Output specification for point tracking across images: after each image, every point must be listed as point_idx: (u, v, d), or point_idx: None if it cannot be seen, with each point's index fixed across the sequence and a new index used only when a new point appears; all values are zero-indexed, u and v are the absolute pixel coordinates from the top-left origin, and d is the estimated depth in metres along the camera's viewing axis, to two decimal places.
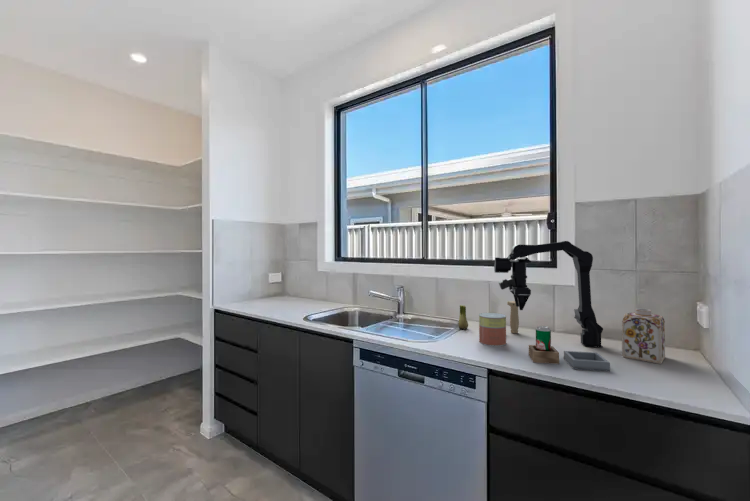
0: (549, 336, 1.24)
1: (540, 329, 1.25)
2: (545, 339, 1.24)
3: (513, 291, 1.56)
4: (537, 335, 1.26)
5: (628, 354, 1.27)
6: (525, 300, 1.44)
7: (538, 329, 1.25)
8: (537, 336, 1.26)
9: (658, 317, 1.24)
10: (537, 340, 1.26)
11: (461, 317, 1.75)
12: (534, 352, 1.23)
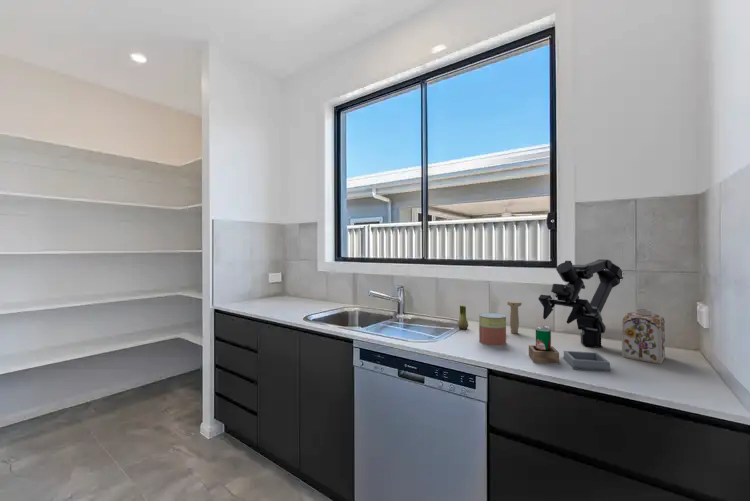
0: (549, 336, 1.24)
1: (540, 329, 1.25)
2: (545, 339, 1.24)
3: (548, 302, 1.37)
4: (537, 335, 1.26)
5: (628, 354, 1.27)
6: (577, 316, 1.27)
7: (538, 329, 1.25)
8: (537, 336, 1.26)
9: (658, 317, 1.24)
10: (537, 340, 1.26)
11: (461, 317, 1.75)
12: (534, 352, 1.23)
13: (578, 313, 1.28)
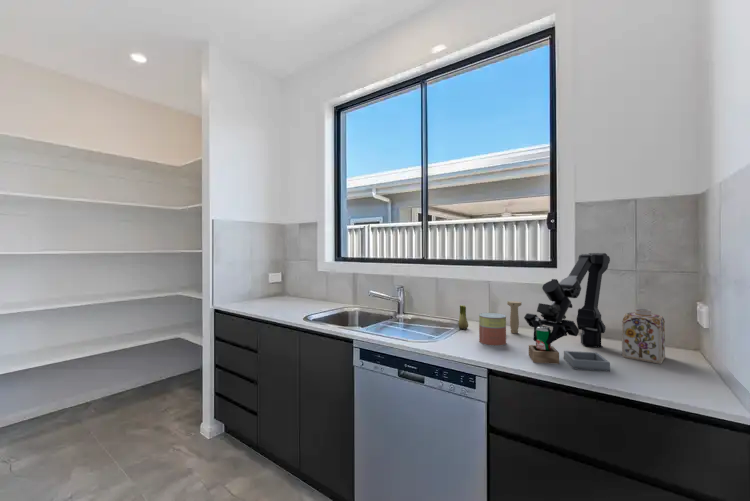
0: None
1: (540, 329, 1.25)
2: (545, 339, 1.24)
3: (538, 323, 1.30)
4: (537, 335, 1.26)
5: (628, 354, 1.27)
6: (558, 337, 1.24)
7: (538, 329, 1.25)
8: (537, 336, 1.26)
9: (658, 317, 1.24)
10: (537, 340, 1.26)
11: (461, 317, 1.75)
12: (534, 352, 1.23)
13: (558, 333, 1.25)
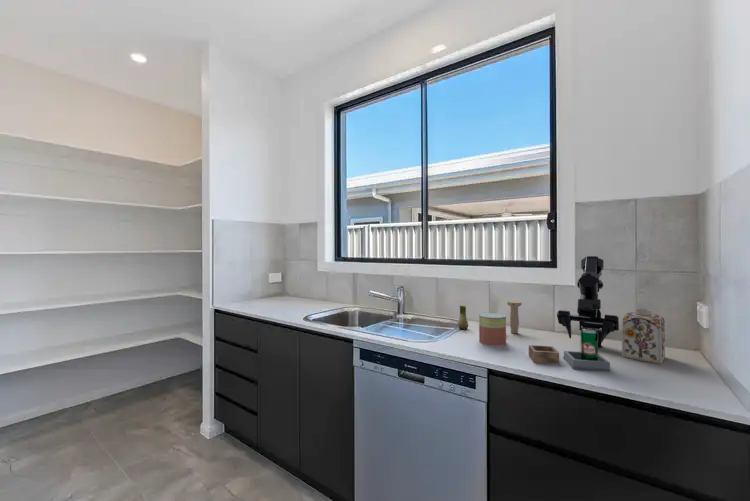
0: (597, 338, 1.18)
1: (589, 331, 1.18)
2: (595, 341, 1.17)
3: (569, 319, 1.25)
4: (585, 338, 1.18)
5: (628, 354, 1.27)
6: (606, 334, 1.19)
7: (587, 331, 1.18)
8: (585, 339, 1.18)
9: (658, 317, 1.24)
10: (586, 343, 1.18)
11: (461, 317, 1.75)
12: (534, 352, 1.23)
13: (606, 330, 1.19)
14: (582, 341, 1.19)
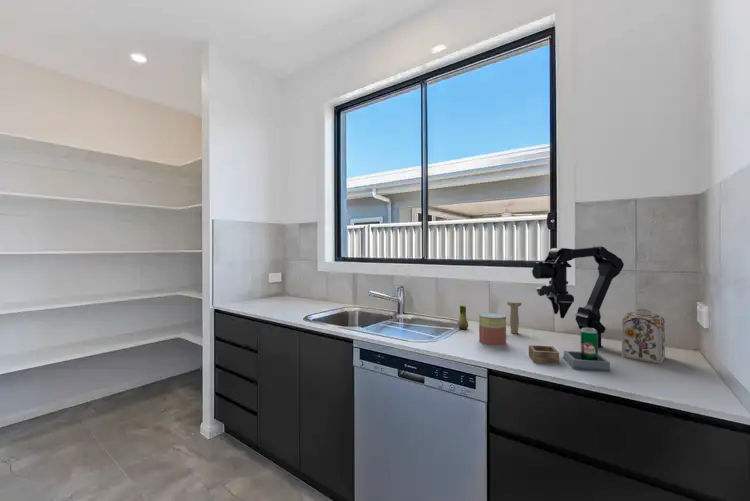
0: (597, 338, 1.18)
1: (589, 331, 1.18)
2: (595, 341, 1.17)
3: (551, 297, 1.47)
4: (585, 338, 1.18)
5: (628, 354, 1.27)
6: (567, 308, 1.35)
7: (587, 331, 1.18)
8: (585, 339, 1.18)
9: (658, 317, 1.24)
10: (585, 343, 1.18)
11: (461, 317, 1.75)
12: (534, 352, 1.23)
13: (566, 304, 1.35)
14: (582, 341, 1.19)
